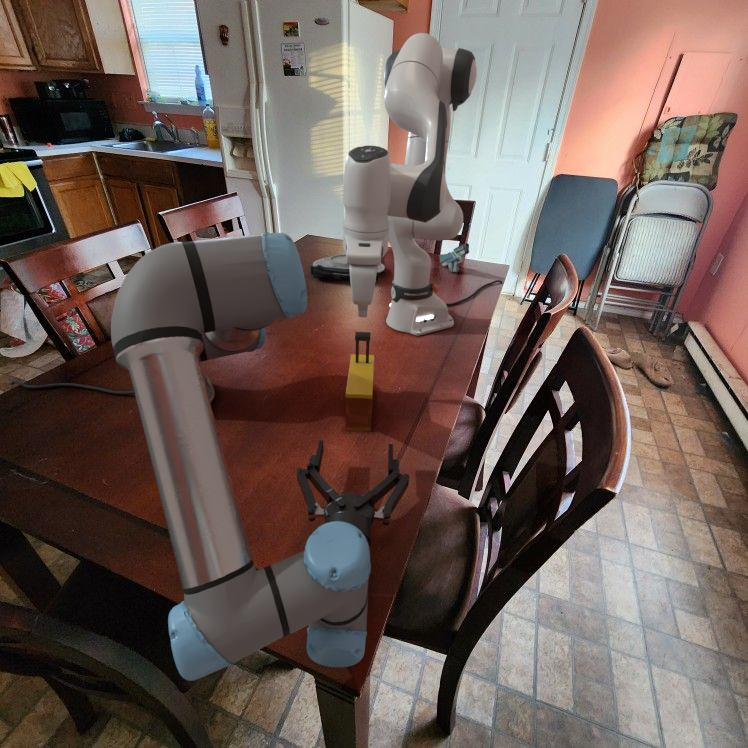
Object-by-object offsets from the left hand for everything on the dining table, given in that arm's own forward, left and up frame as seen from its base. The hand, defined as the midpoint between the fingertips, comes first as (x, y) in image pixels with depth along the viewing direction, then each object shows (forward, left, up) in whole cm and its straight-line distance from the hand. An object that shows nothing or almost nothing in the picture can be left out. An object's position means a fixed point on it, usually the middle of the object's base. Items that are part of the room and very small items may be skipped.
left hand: (356, 446), depth 81 cm
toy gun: (+34, +114, -6) cm, 119 cm away
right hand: (0, +23, +19) cm, 30 cm away
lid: (0, +18, +4) cm, 19 cm away
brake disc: (-10, +107, -6) cm, 108 cm away
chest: (0, +18, -6) cm, 19 cm away
